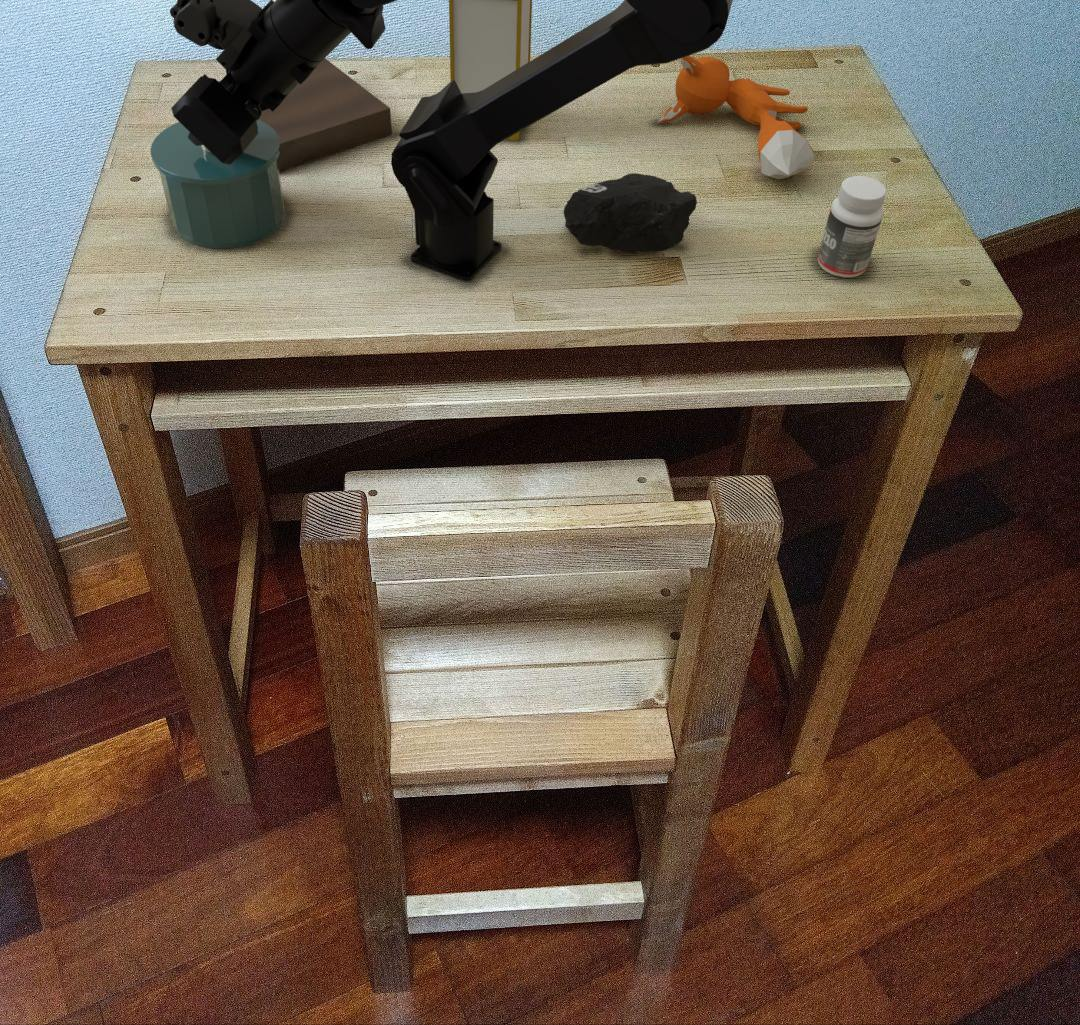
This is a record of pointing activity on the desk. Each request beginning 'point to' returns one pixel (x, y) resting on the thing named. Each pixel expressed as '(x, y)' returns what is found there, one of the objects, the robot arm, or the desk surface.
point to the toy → (744, 112)
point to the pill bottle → (852, 227)
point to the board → (326, 117)
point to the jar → (226, 210)
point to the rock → (630, 214)
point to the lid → (211, 157)
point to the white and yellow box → (488, 41)
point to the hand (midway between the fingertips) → (199, 132)
